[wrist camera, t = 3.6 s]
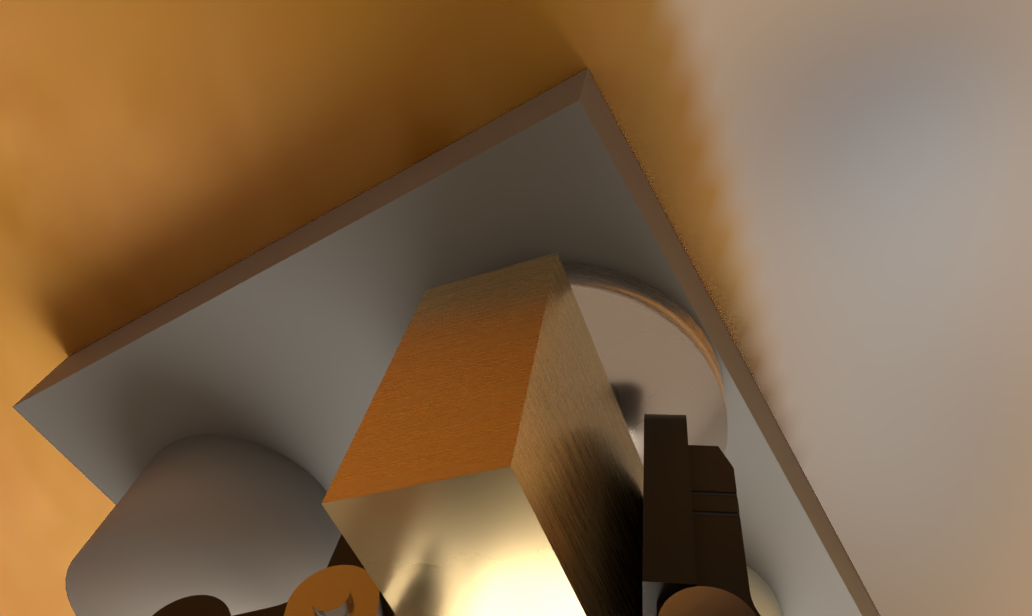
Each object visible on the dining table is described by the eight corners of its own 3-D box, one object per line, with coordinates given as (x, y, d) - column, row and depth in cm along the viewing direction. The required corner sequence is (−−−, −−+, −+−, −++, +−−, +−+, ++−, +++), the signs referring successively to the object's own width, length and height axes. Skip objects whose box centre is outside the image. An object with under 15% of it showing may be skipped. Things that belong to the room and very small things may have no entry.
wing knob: (354, 287, 15) (197, 531, 10) (665, 195, 13) (676, 436, 8) (496, 545, 18) (434, 832, 13) (762, 501, 16) (816, 817, 11)
